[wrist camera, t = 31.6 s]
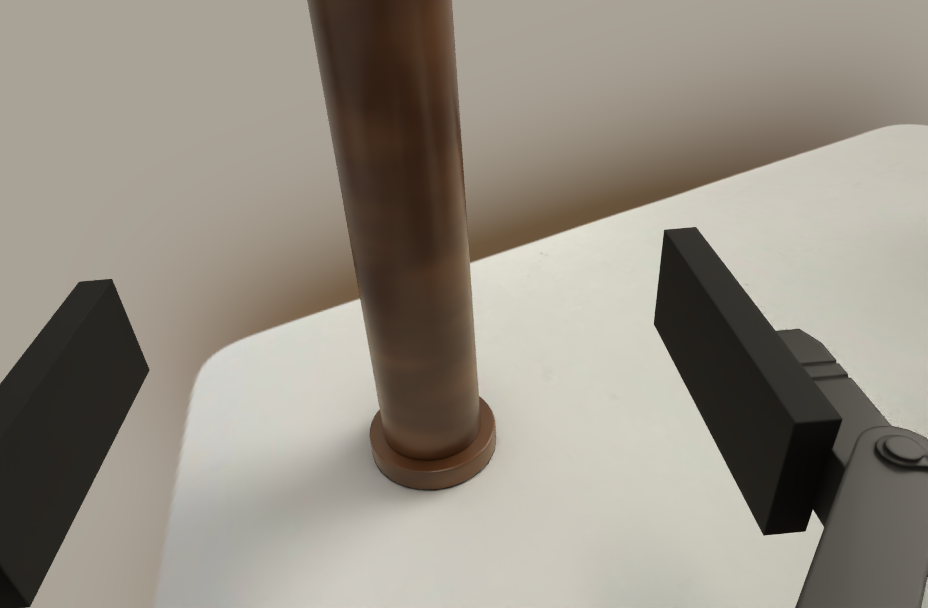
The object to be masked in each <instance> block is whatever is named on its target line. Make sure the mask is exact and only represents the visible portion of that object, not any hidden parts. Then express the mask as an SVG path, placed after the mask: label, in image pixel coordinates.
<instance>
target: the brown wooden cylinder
mask: <svg viewBox="0 0 928 608" xmlns="http://www.w3.org/2000/svg"><path fill="white" fill-rule="evenodd" d="M307 1H308V6H309V12H310V18H311V24H312V29H313V35H314V41H315V46H316V52H317V57H318V63H319V69H320V74H321V80H322V86H323V91H324V97H325V102H326V108H327V114H328V119H329V125H330V131H331V136H332V142H333V147H334V153H335V159H336V165H337V170H338V176H339V181H340V187H341V192H342V198H343V204H344V210H345V215H346V221H347V226H348V232H349V238H350V243H351V249H352V254H353V260H354V266H355V271H356V277H357V283H358V288H359V294H360V300H361V305H362V311H363V317H364V322H365V328H366V334H367V339H368V345H369V350H370V356H371V362H372V367H373V373H374V379H375V384H376V390H377V396H378V401H379V407H380V409H379V411H378V412H377V413H376V415H375V417H374V419H373V421H372V424H371V428H370V441H371V446H372V452H373V456H374V459H375V462H376V464H377V466H378V467H379V469H380V470H381V471H382V472H383V473H384V474H385V475H386V476H387V477H388V478H390V479H391V480H393V481H395V482H397V483H399V484H401V485H404V486H407V487H411V488H416V489H441V488H446V487H451V486H454V485H457V484H460V483H462V482H464V481H466V480H468V479H470V478H471V477H473V476H474V475H476V474H477V473H478V472H480V471H481V470H482V469H483V468H484V467H485V465H486V464H487V463H488V462H489V460H490V458H491V456H492V455H493V452H494V449H495V445H496V429H495V419H494V415H493V412H492V410H491V409H490V407H489V405H488V404H487V403H486V402H485V401H484V400H483V399H482V398H481V397H480V396H479V392H478V377H477V362H476V348H475V333H474V318H473V304H472V289H471V274H470V260H469V246H468V230H467V218H466V217H467V216H466V201H465V187H464V174H463V173H464V172H463V157H462V144H461V129H460V113H459V99H458V84H457V70H456V55H455V40H454V26H453V11H452V0H307Z"/></svg>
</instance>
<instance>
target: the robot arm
mask: <svg viewBox="0 0 928 608" xmlns="http://www.w3.org/2000/svg"><path fill="white" fill-rule="evenodd" d="M654 325H655V327H656V329H657V331H658V333H659V335H660V337H661V339H662V341H663V342H664V344H665V346H666V348H667V350H668V352H669V354H670V356H671V358H672V360H673V362H674V364H675V366H676V368H677V369H678V371H679V373H680V375H681V377H682V379H683V381H684V383H685V385H686V387H687V389H688V391H689V393H690V394H691V396H692V398H693V400H694V402H695V404H696V406H697V408H698V410H699V412H700V414H701V416H702V418H703V420H704V421H705V423H706V425H707V427H708V429H709V431H710V433H711V435H712V437H713V439H714V441H715V443H716V445H717V447H718V448H719V450H720V452H721V454H722V456H723V458H724V460H725V462H726V464H727V466H728V468H729V470H730V472H731V474H732V475H733V477H734V479H735V481H736V483H737V485H738V487H739V489H740V491H741V493H742V495H743V497H744V499H745V500H746V502H747V504H748V506H749V508H750V510H751V512H752V514H753V516H754V518H755V520H756V522H757V524H758V526H759V527H760V529H761V531H762V533H763V535H772V534H783V533H793V532H803V531H806V528H807V525H808V522H809V519H810V516H811V513H812V510H814V511H815V513H816V515H817V516H818V518H819V520H820V521H821V523H822V524H823V526H824V530H823V533H822V535H821V538H820V541H819V544H818V547H817V549H816V552H815V555H814V558H813V560H812V563H811V566H810V569H809V571H808V574H807V577H806V580H805V582H804V585H803V588H802V591H801V593H800V596H799V599H798V602H797V604H796V607H795V608H921V605H922V600H923V595H924V591H925V586H926V581H927V577H928V439H927V438H925V437H923V436H921V435H919V434H917V433H915V432H912V431H910V430H907V429H903V428H899V427H894V426H891V425H890V423H889V422H888V421H887V420H886V419H885V418H884V416H883V415H882V414H881V413H880V412H879V410H878V409H877V408H876V407H875V406H874V404H873V403H872V402H871V401H870V400H869V399H868V397H867V396H866V395H865V394H864V393H863V391H862V390H861V389H860V388H859V387H858V385H857V384H856V383H855V382H854V381H853V380H852V378H848V374H847V372H846V371H845V370H844V369H843V368H842V366H841V365H840V364H837V363H836V359H835V358H834V357H833V356H832V355H831V353H830V352H829V351H828V350H827V349H826V347H825V346H824V345H823V344H822V343H821V342H819V341H818V340H816V339H815V338H813V337H811V336H810V335H808V334H807V333H805V332H803V331H802V330H800V329H792V330H781V331H775V330H774V328H773V327H772V326H771V324H770V323H769V322H768V321H767V319H766V318H765V317H764V315H763V314H762V313H761V311H760V310H759V309H758V307H757V306H756V305H755V304H754V302H753V301H752V300H751V298H750V297H749V296H748V294H747V293H746V292H745V291H744V289H743V288H742V287H741V285H740V284H739V283H738V281H737V280H736V279H735V277H734V276H733V275H732V274H731V272H730V271H729V270H728V268H727V267H726V266H725V264H724V263H723V262H722V260H721V259H720V258H719V257H718V255H717V254H716V253H715V251H714V250H713V249H712V247H711V246H710V245H709V244H708V242H707V241H706V240H705V238H704V237H703V236H702V234H701V233H700V232H699V230H698V229H697V228H696V227H692V228H681V229H670V230H664V237H663V246H662V255H661V264H660V273H659V282H658V291H657V300H656V309H655V318H654ZM148 372H149V368H148V365H147V363H146V360H145V358H144V355H143V353H142V351H141V348H140V346H139V343H138V341H137V338H136V336H135V334H134V331H133V329H132V326H131V324H130V322H129V319H128V317H127V314H126V312H125V309H124V307H123V304H122V302H121V300H120V298H119V295H118V293H117V290H116V288H115V285H114V283H113V280H112V279H105V280H94V281H83V282H79V283H78V284H77V285H76V287H75V288H74V289H73V291H72V292H71V293H70V294H69V296H68V297H67V298H66V300H65V301H64V302H63V303H62V305H61V306H60V307H59V309H58V310H57V311H56V313H55V314H54V315H53V316H52V318H51V319H50V321H49V322H48V323H47V324H46V326H45V327H44V328H43V329H42V331H41V332H40V333H39V334H38V336H37V337H36V338H35V340H34V341H33V342H32V344H31V345H30V346H29V348H28V349H27V350H26V351H25V353H24V354H23V355H22V357H21V358H20V359H19V360H18V362H17V363H16V364H15V366H14V367H13V368H12V370H11V371H10V372H9V373H8V375H7V376H6V377H5V379H4V380H3V381H2V382H1V384H0V608H26V607H30V605H31V604H32V602H33V600H34V598H35V596H36V594H37V592H38V590H39V588H40V586H41V584H42V582H43V580H44V578H45V576H46V574H47V572H48V570H49V568H50V566H51V564H52V562H53V560H54V558H55V556H56V554H57V552H58V550H59V548H60V546H61V544H62V542H63V540H64V538H65V536H66V534H67V532H68V530H69V528H70V526H71V524H72V522H73V520H74V518H75V516H76V514H77V512H78V511H79V509H80V506H81V505H82V502H83V501H84V499H85V497H86V495H87V493H88V491H89V489H90V487H91V485H92V483H93V481H94V478H95V477H96V475H97V473H98V471H99V469H100V467H101V465H102V463H103V461H104V459H105V457H106V455H107V453H108V451H109V449H110V447H111V445H112V443H113V441H114V439H115V437H116V435H117V433H118V431H119V429H120V427H121V425H122V423H123V421H124V419H125V417H126V415H127V413H128V411H129V409H130V407H131V406H132V404H133V402H134V400H135V398H136V396H137V394H138V392H139V390H140V388H141V386H142V384H143V382H144V380H145V378H146V376H147V374H148Z"/></svg>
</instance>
